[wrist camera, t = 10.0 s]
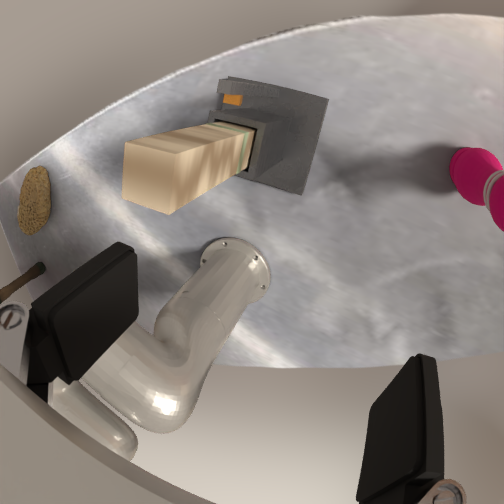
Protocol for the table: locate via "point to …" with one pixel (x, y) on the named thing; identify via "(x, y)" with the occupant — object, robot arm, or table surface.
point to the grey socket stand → (274, 129)
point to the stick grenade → (21, 281)
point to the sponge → (34, 201)
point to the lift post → (184, 163)
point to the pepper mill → (480, 180)
